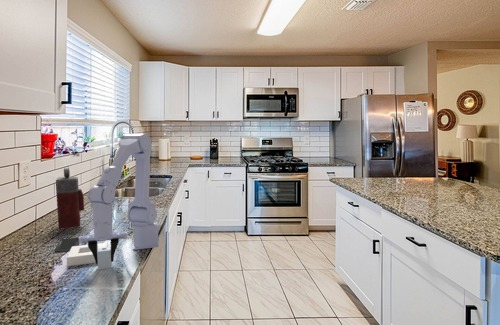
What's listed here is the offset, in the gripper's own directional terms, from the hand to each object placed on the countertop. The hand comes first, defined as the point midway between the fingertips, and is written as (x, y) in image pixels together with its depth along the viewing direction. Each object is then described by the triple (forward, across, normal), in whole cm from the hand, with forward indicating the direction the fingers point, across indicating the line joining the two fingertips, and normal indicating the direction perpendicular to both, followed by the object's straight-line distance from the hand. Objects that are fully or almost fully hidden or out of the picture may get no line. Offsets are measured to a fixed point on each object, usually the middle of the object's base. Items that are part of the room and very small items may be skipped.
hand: (104, 261), depth 113 cm
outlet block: (+2, -6, +11) cm, 13 cm away
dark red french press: (+2, -18, +62) cm, 65 cm away
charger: (+2, 0, 0) cm, 2 cm away
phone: (+2, -15, +29) cm, 33 cm away
